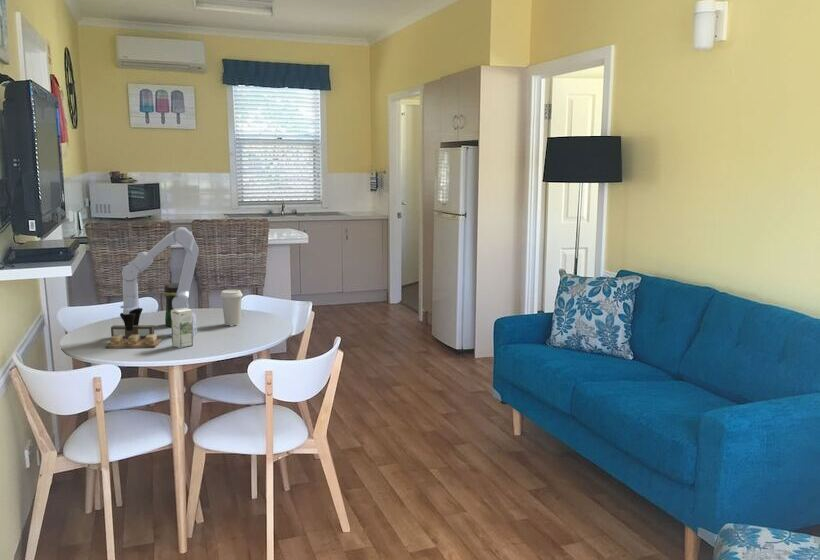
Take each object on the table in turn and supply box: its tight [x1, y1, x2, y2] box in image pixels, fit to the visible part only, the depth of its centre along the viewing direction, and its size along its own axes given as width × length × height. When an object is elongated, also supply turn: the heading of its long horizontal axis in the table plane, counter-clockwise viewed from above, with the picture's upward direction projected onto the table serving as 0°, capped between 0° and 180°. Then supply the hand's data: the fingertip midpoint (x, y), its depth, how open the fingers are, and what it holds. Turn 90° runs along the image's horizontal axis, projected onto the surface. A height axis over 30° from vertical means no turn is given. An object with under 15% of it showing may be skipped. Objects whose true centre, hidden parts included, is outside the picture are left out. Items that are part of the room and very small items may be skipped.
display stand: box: [105, 333, 162, 349], centre depth 265 cm, size 18×10×4 cm, turn 95°
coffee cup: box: [219, 289, 244, 326], centre depth 301 cm, size 10×10×15 cm
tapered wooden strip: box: [110, 324, 155, 339], centre depth 277 cm, size 16×3×5 cm, turn 94°
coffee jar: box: [163, 282, 179, 327], centre depth 299 cm, size 10×8×19 cm
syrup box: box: [170, 308, 194, 349], centre depth 263 cm, size 6×6×14 cm
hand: (132, 328), depth 276 cm, fingers open, 7 cm apart
